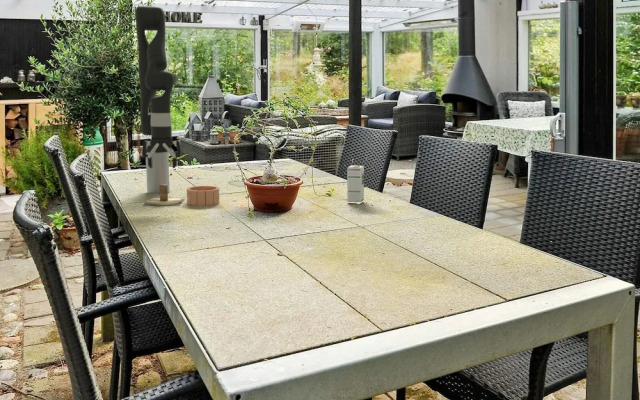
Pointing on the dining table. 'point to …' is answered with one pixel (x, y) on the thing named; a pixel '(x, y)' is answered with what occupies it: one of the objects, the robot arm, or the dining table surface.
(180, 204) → the mat
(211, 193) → the bowl
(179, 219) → the dining table surface
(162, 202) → the lid
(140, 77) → the robot arm
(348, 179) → the syrup box
